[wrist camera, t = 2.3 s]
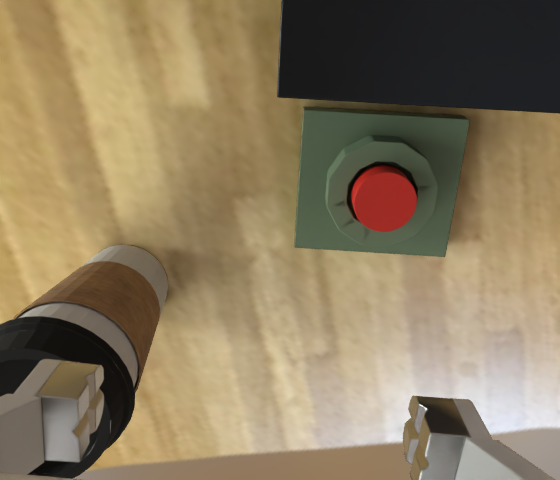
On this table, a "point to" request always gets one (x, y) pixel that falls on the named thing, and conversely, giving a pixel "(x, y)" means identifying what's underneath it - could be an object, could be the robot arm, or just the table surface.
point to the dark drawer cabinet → (423, 52)
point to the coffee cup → (91, 337)
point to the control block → (368, 153)
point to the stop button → (383, 198)
